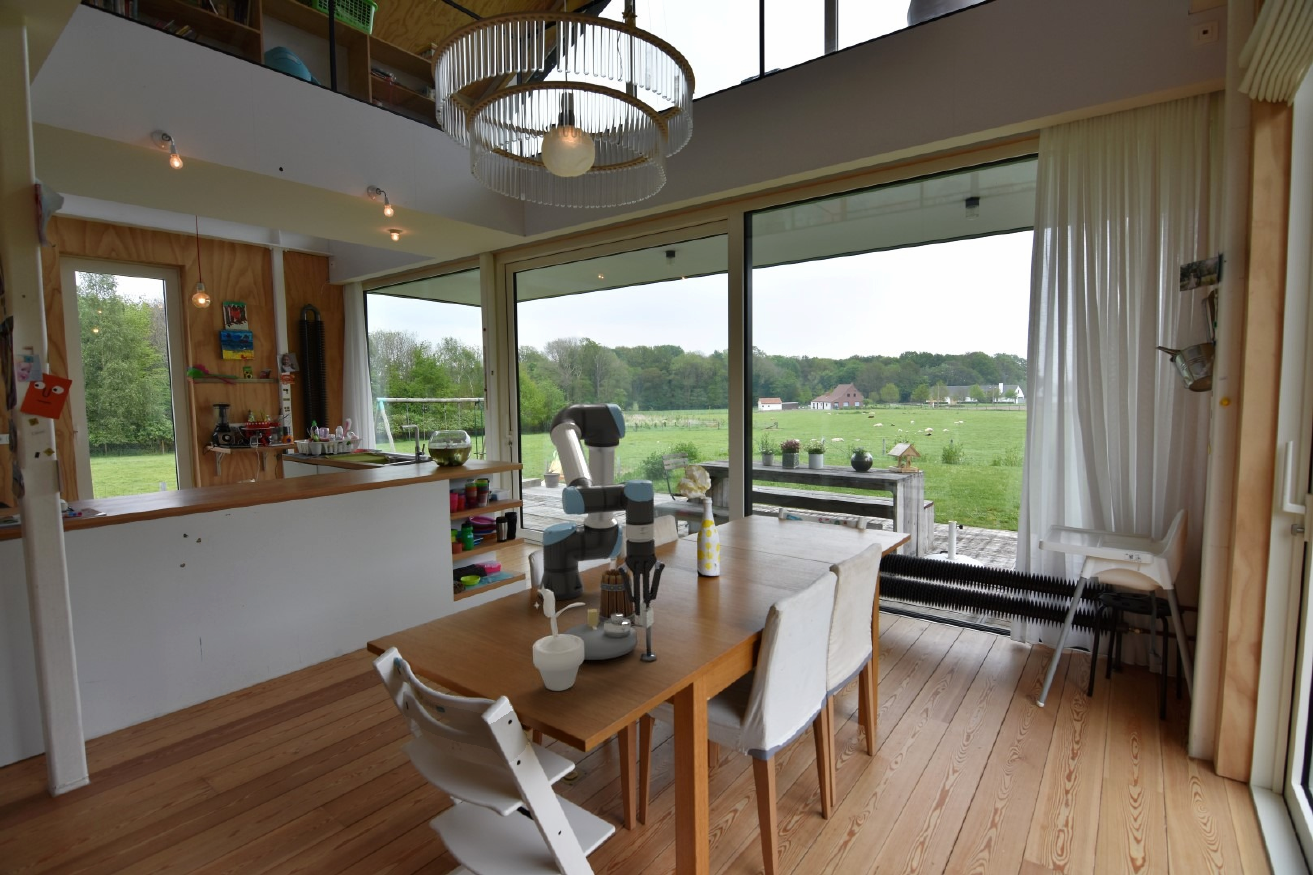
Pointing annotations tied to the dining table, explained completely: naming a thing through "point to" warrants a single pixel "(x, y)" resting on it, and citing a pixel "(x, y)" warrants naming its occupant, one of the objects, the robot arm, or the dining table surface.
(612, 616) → the cover
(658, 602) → the dining table surface
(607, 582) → the mug
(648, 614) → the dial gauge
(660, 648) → the dining table surface
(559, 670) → the potted plant
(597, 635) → the turntable
